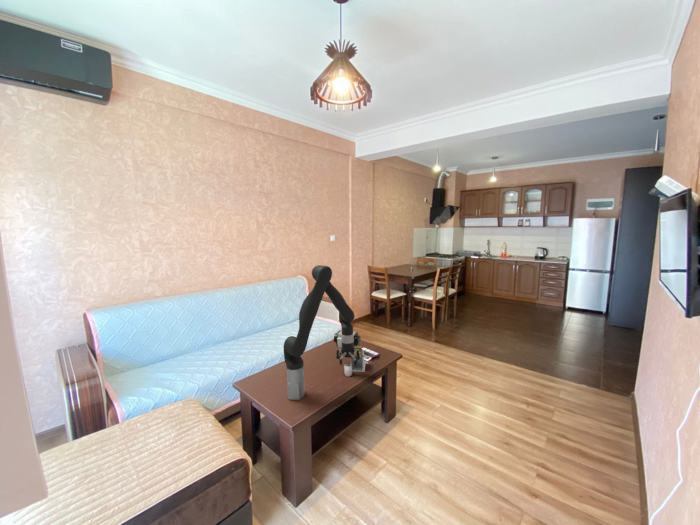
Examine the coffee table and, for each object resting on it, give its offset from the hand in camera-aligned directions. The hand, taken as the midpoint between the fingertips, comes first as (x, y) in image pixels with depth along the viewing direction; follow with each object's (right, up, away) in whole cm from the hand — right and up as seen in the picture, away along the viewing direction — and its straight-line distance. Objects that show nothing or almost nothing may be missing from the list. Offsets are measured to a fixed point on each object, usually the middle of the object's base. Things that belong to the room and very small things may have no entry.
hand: (348, 364), depth 184 cm
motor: (+6, -5, +9) cm, 12 cm away
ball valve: (-1, -2, +27) cm, 27 cm away
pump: (0, -6, 0) cm, 6 cm away
